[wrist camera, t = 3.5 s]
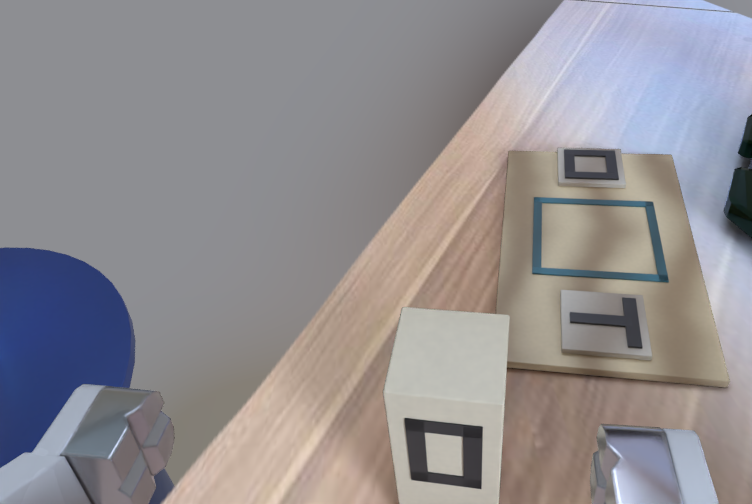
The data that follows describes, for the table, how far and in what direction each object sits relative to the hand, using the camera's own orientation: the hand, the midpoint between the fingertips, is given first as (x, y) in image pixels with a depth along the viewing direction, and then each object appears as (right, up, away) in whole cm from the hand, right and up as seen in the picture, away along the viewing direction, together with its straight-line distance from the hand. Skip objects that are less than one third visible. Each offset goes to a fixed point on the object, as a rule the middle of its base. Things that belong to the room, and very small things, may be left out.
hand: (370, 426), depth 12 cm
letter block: (+4, -8, +22) cm, 24 cm away
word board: (+16, +4, +34) cm, 37 cm away
